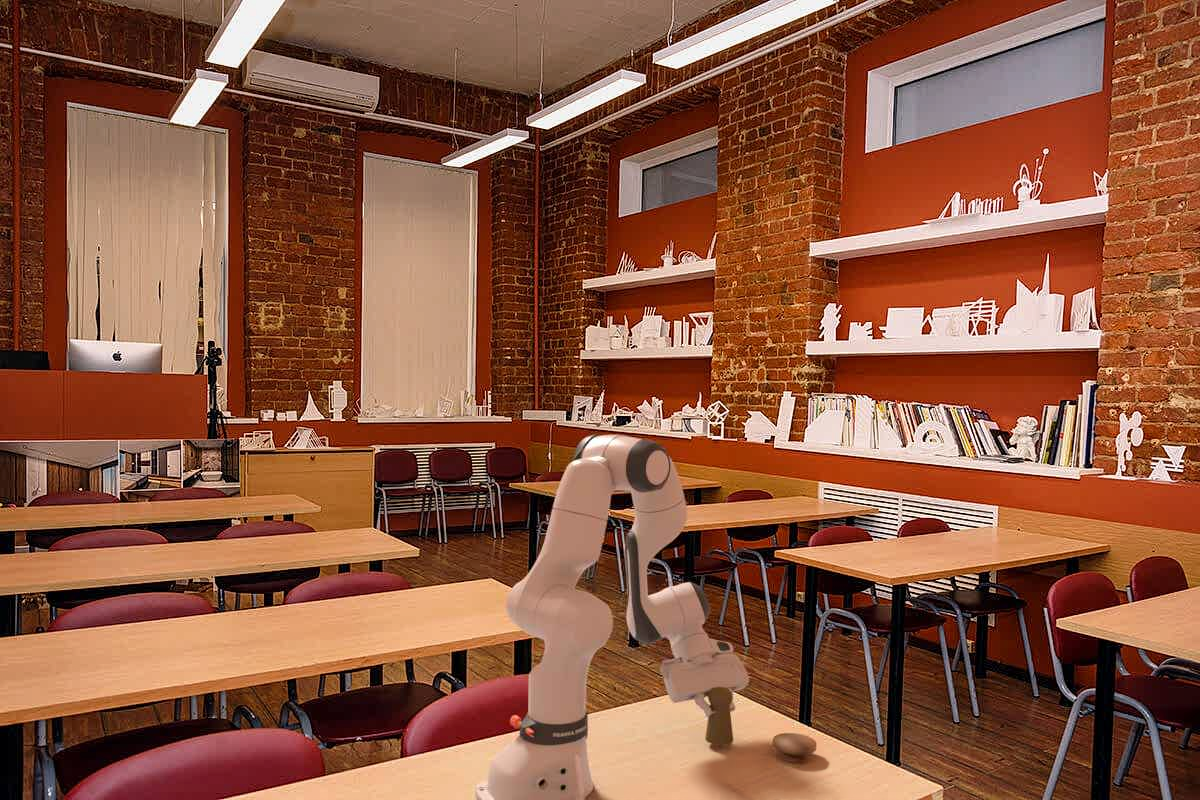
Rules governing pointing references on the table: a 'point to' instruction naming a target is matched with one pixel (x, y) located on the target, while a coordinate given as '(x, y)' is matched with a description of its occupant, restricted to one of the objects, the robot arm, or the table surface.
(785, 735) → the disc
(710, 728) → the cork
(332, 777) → the table surface
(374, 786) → the table surface
